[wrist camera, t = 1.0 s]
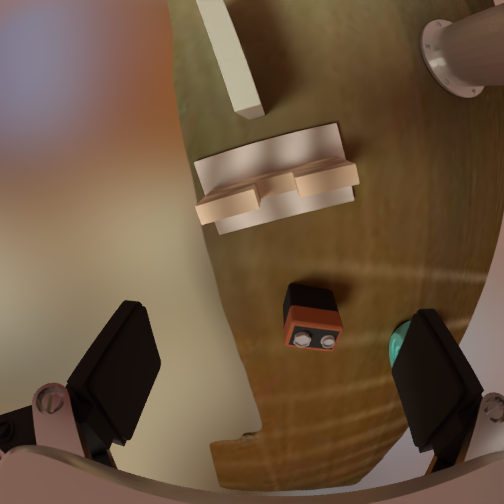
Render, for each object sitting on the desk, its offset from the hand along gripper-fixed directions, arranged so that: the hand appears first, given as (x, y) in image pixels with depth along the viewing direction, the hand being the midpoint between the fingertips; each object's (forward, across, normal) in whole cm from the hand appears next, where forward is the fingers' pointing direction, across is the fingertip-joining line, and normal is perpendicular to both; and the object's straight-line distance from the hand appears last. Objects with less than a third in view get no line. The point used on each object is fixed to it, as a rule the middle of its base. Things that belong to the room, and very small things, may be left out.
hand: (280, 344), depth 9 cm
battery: (+28, -5, +17) cm, 33 cm away
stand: (+28, 0, -1) cm, 28 cm away
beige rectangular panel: (+28, +5, -16) cm, 33 cm away
